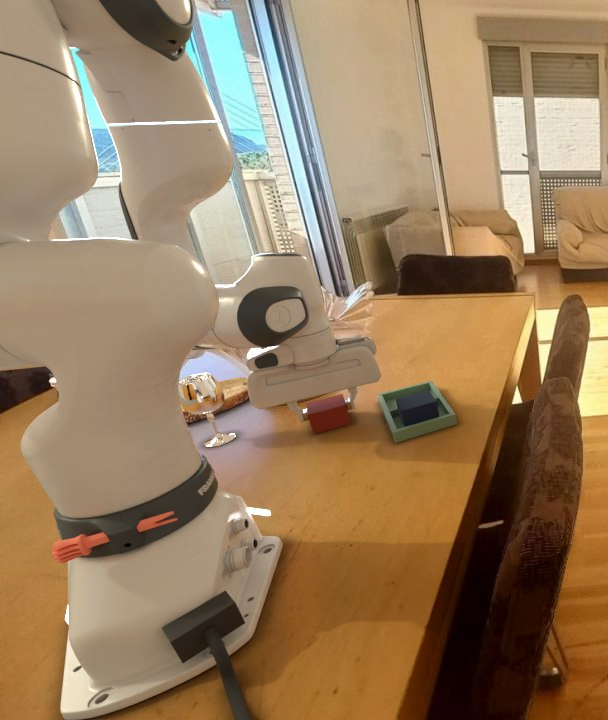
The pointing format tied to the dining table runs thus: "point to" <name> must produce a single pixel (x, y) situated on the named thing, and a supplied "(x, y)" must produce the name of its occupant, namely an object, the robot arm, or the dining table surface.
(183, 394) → the wineglass
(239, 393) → the slice of bread
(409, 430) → the tray
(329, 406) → the red block
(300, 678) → the dining table surface
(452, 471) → the dining table surface
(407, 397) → the pad
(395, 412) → the tray rib
